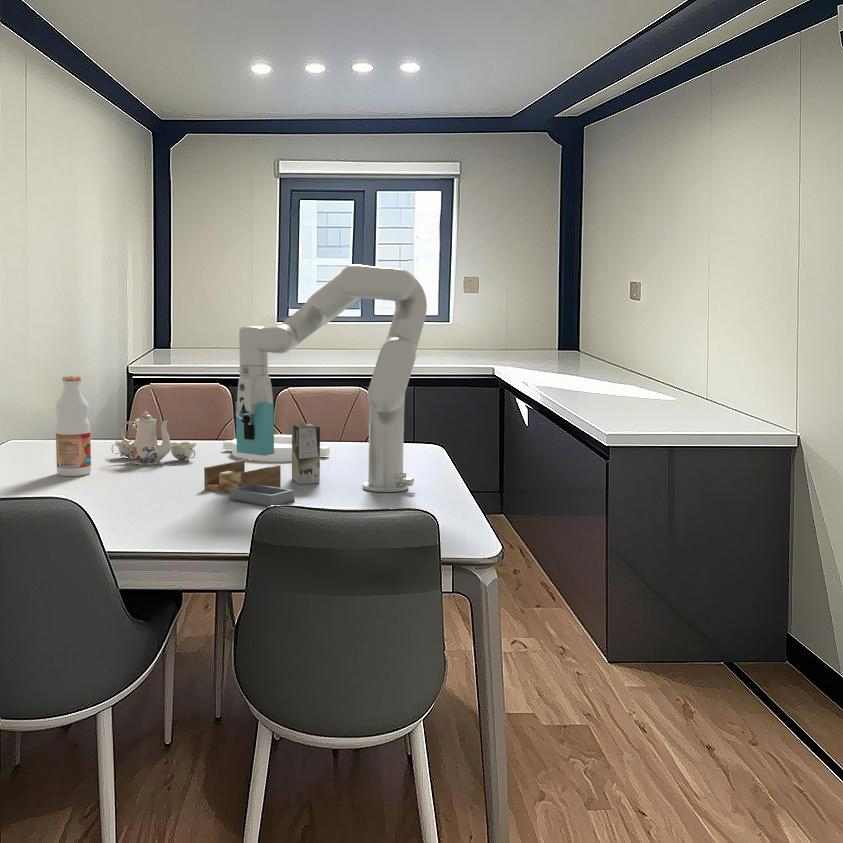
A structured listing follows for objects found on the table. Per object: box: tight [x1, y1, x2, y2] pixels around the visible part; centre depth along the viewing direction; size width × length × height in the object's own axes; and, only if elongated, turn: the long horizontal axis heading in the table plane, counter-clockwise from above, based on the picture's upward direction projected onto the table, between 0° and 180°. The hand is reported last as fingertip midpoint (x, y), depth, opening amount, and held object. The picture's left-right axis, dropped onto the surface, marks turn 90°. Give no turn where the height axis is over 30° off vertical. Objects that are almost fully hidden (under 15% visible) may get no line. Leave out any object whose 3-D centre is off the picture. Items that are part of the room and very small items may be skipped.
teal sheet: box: [235, 401, 275, 456], centre depth 290 cm, size 10×4×14 cm, turn 58°
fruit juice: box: [55, 375, 92, 477], centre depth 303 cm, size 9×9×28 cm
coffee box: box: [291, 422, 321, 485], centre depth 300 cm, size 9×6×16 cm
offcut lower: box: [219, 482, 241, 488], centre depth 286 cm, size 7×4×2 cm, turn 58°
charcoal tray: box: [229, 484, 296, 508], centre depth 273 cm, size 14×9×3 cm, turn 58°
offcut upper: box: [219, 471, 242, 485], centre depth 285 cm, size 7×4×2 cm, turn 63°
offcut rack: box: [203, 459, 282, 495], centre depth 288 cm, size 14×15×6 cm
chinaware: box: [111, 410, 197, 466], centre depth 327 cm, size 28×17×17 cm, turn 85°
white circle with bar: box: [222, 434, 331, 463], centre depth 345 cm, size 28×28×5 cm
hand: (255, 437), depth 291 cm, fingers closed on teal sheet, 4 cm apart
